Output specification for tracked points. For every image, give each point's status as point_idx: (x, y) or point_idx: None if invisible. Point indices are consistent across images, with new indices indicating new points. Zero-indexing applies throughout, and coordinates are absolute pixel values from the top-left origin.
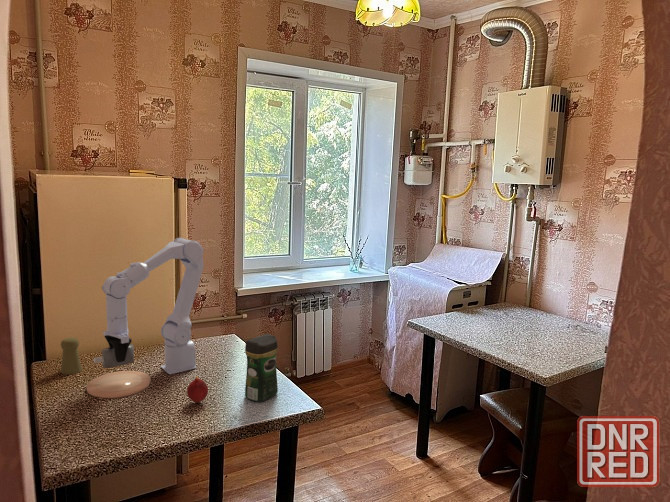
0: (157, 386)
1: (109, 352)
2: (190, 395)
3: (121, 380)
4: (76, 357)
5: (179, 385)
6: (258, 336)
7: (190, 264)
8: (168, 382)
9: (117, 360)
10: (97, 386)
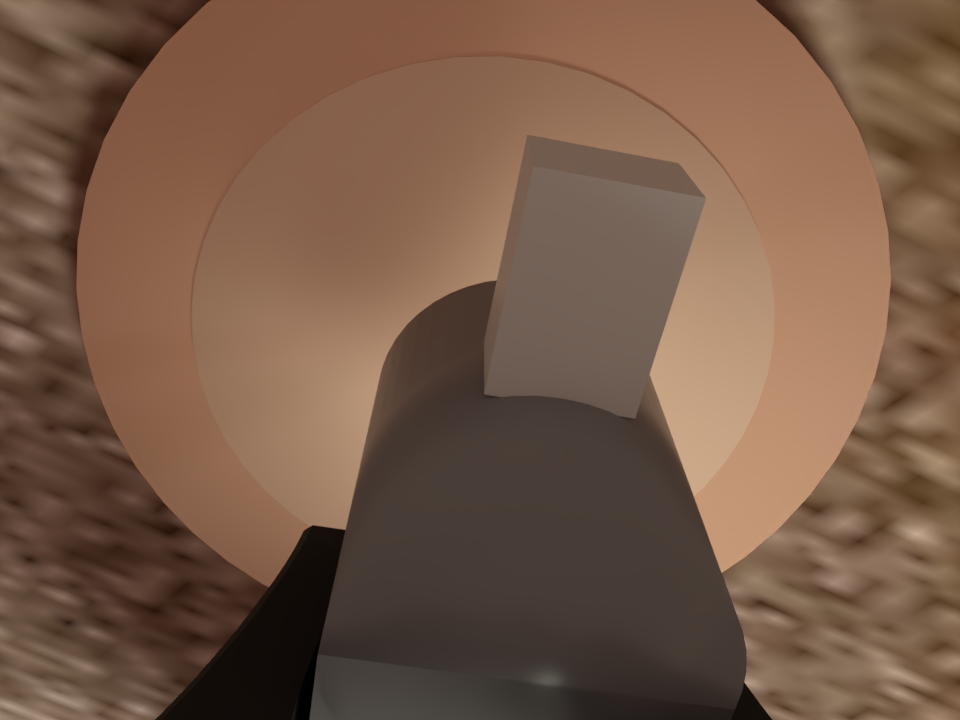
0: (150, 574)
1: (338, 601)
2: None
3: None
4: None
5: (43, 697)
6: None
7: None
8: (178, 672)
9: (294, 550)
10: (574, 90)
